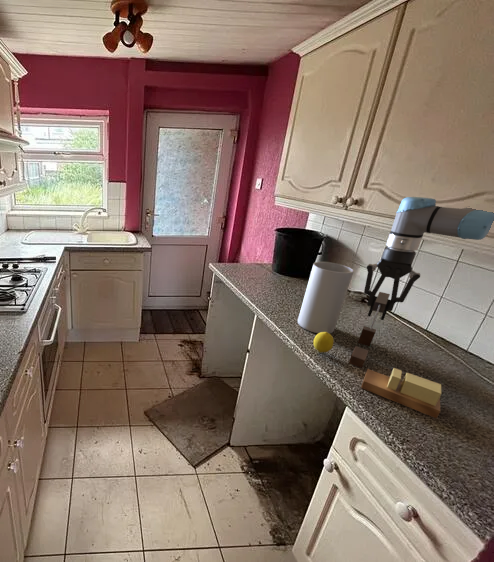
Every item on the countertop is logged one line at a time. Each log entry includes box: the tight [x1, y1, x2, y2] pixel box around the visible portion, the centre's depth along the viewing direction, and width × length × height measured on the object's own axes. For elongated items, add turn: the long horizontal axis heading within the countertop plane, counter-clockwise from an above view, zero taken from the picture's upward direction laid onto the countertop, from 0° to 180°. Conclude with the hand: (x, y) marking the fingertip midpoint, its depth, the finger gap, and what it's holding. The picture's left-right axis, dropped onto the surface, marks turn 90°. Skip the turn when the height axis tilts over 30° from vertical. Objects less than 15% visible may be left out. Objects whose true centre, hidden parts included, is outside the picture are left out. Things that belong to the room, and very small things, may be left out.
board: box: [360, 368, 441, 419], centre depth 87 cm, size 16×8×2 cm, turn 46°
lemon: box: [312, 332, 335, 354], centre depth 105 cm, size 6×6×8 cm
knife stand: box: [348, 325, 377, 369], centre depth 105 cm, size 4×20×6 cm, turn 136°
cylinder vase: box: [297, 261, 355, 335], centre depth 118 cm, size 12×12×25 cm
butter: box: [400, 372, 442, 406], centre depth 84 cm, size 7×5×4 cm
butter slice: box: [387, 367, 403, 390], centre depth 87 cm, size 2×5×4 cm, turn 136°
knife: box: [369, 291, 391, 329], centre depth 100 cm, size 3×21×6 cm, turn 136°
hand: (375, 316), depth 104 cm, fingers closed on knife, 3 cm apart
